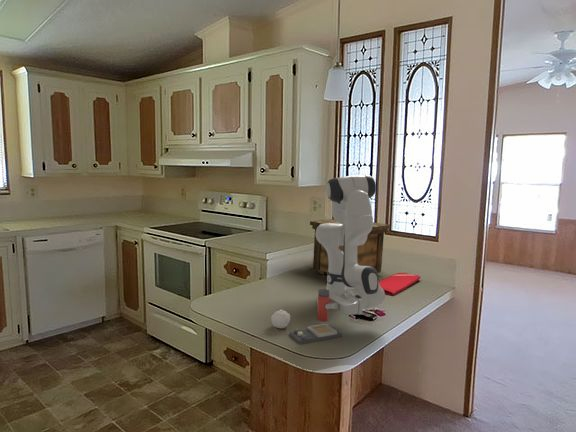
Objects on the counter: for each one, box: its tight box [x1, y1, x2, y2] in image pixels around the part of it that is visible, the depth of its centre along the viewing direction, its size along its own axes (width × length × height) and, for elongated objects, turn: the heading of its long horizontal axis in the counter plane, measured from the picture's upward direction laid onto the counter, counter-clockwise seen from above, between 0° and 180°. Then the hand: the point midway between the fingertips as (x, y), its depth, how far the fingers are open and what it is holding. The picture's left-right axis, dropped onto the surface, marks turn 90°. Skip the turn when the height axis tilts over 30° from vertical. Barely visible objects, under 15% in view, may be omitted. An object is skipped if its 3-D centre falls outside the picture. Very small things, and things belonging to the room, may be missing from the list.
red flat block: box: [379, 272, 421, 296], centre depth 241 cm, size 16×41×4 cm, turn 142°
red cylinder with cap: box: [316, 288, 330, 323], centre depth 165 cm, size 4×4×12 cm
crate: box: [309, 218, 391, 275], centre depth 259 cm, size 35×35×33 cm
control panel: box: [288, 323, 343, 345], centre depth 165 cm, size 19×9×2 cm, turn 117°
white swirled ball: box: [270, 309, 291, 329], centre depth 171 cm, size 8×8×8 cm
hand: (321, 304), depth 165 cm, fingers closed on red cylinder with cap, 4 cm apart
